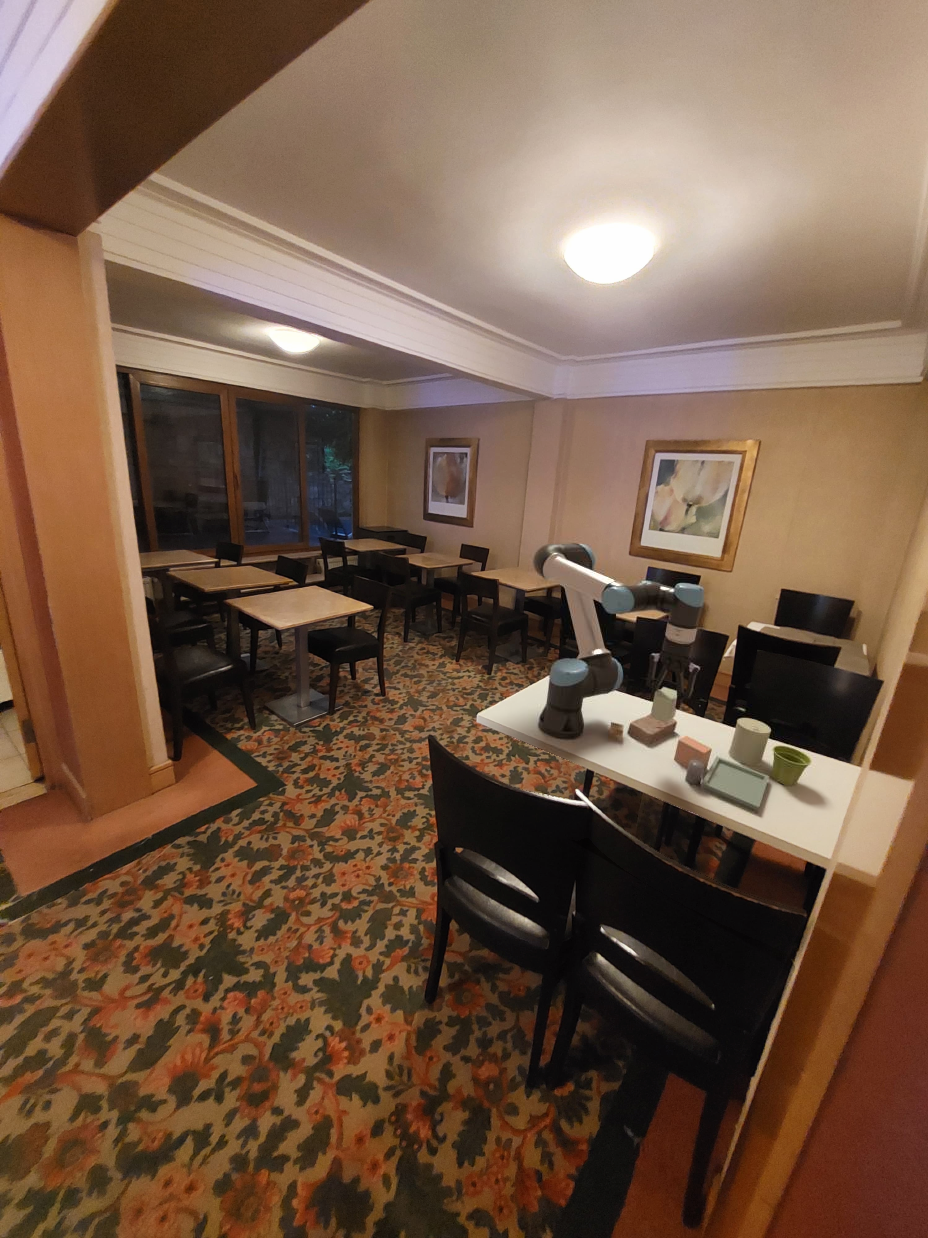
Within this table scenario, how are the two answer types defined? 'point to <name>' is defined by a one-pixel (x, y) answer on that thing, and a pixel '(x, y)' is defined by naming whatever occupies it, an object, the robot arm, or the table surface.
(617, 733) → the oak block
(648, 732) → the brick
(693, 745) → the terracotta block
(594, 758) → the table surface
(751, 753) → the can
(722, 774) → the tray
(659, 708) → the sage block
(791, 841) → the table surface
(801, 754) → the plant pot
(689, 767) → the grey canister
